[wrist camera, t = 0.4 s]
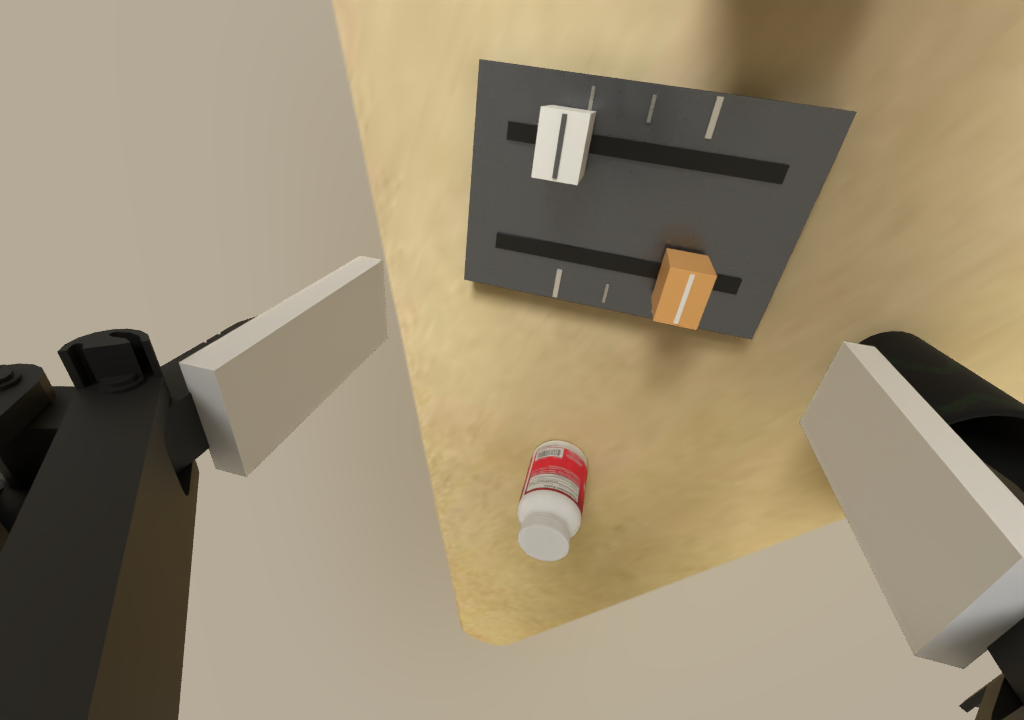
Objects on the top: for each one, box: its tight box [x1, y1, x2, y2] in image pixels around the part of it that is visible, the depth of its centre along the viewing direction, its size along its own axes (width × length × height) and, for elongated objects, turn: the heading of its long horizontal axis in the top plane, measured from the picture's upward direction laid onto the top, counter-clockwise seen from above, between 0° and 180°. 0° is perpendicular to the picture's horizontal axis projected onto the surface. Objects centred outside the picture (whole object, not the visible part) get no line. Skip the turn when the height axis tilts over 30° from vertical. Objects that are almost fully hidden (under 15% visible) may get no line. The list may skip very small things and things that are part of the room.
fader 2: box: [651, 248, 717, 330], centre depth 32 cm, size 4×3×4 cm
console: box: [464, 59, 856, 339], centre depth 34 cm, size 16×24×2 cm, turn 83°
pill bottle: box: [517, 440, 588, 561], centre depth 45 cm, size 6×6×11 cm
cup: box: [859, 331, 1024, 492], centre depth 31 cm, size 8×8×12 cm
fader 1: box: [531, 105, 596, 185], centre depth 30 cm, size 4×3×4 cm
